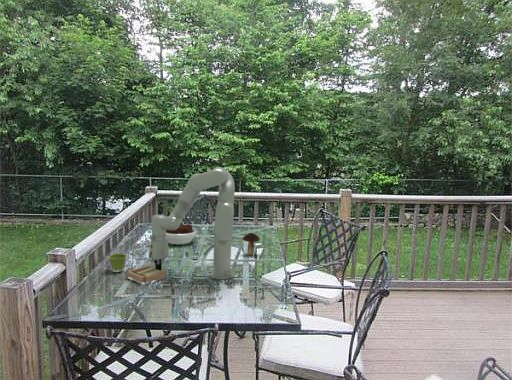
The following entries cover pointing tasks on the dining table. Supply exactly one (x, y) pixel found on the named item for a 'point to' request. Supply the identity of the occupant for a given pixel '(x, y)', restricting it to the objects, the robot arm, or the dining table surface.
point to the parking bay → (152, 277)
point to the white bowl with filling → (181, 234)
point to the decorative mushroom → (251, 242)
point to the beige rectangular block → (148, 272)
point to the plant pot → (117, 261)
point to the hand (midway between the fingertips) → (158, 270)
